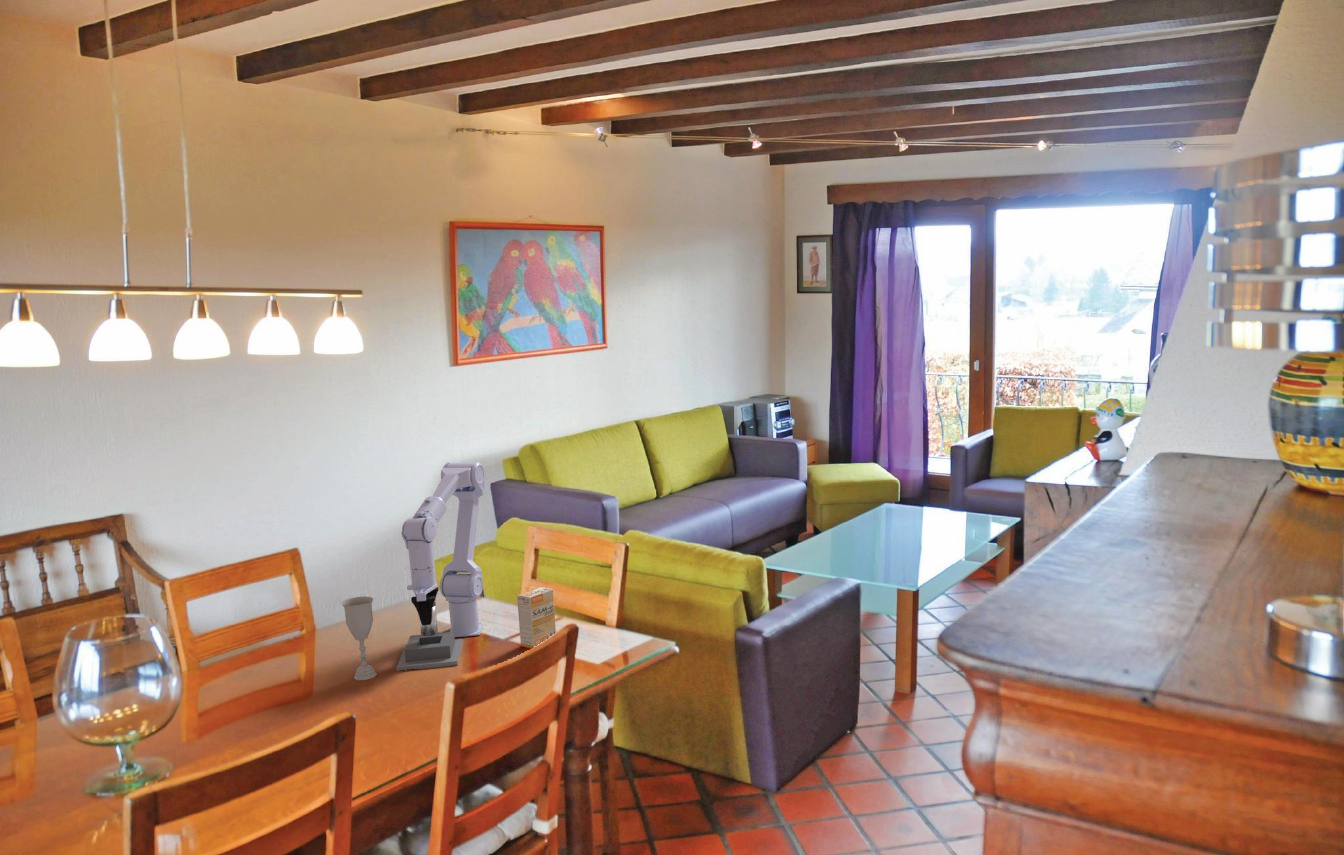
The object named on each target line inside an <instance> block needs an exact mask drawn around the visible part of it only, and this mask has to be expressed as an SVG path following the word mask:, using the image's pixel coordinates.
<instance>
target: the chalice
mask: <svg viewBox="0 0 1344 855" xmlns="http://www.w3.org/2000/svg"><path fill="white" fill-rule="evenodd" d="M373 601H374V598H373V597H372V596H356V597H355V596H354V597H351V598H347V599H346V598H345V599H344V600H342V601H341V602H340V603H341V605H342V606H343V609H344V618H345V624H346V627H347V629H348V631H349V632H350V634H351V635H352V637H353V638H354V640H356V641H359V647H358V650H359V651H360V655H359V658H360V659H361V664H360V665H359V666H357V668H356V671H355V674H354V677H353V679H354V680H356V681H367V680H370V679H374V678H375V677H376V676H377V675H378V674H377V673H376V670H375V668H374V667H373V666H372V665H371V664H369V663H367V657H368V654H366V649H367V646H366V645H365V640H367V639H368V638H369V635H370V632H371V631H372V630H371V629H372V626H373V622H374V617H373V616H374V614H373V607H372V604H373Z"/></svg>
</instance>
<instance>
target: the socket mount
mask: <svg viewBox="0 0 1344 855" xmlns="http://www.w3.org/2000/svg"><path fill="white" fill-rule="evenodd" d="M463 644H464V639H463V638H458V639H455V638H454V631H453V632H450V631H445V632H438V633H437V634H436V635H433V636H422V635H421V634H415V635H410V636H409V638H408V640H407V643H406V644H405V645H404V648H403V650H402V653H401V655H400V657H399V661H398V662H397V665H396V668H395V669H396V672H400V671H399V670H405V671H408V670H407V669H415V670H424V669H433V668H442V667H452V666H453V667H454V666H458V665H459V662H460V657H461V653H462V650H463Z"/></svg>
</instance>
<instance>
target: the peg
mask: <svg viewBox="0 0 1344 855" xmlns="http://www.w3.org/2000/svg"><path fill="white" fill-rule="evenodd" d="M437 618H438V617H437V605H436V599H435V600H434V603H433V609H432V622H431V625H422V624H421V621H420V620H419V628H420V635H422V636H433V635H436V634H437V633H439V631H438V619H437Z"/></svg>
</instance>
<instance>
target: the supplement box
mask: <svg viewBox="0 0 1344 855" xmlns="http://www.w3.org/2000/svg"><path fill="white" fill-rule="evenodd" d="M516 600H517V601H516V602H517V612H518V613H517V614H518V615H517V616H518V625H519V626H518V627H519V636H520V637H519V638H520V639H519V640H520V646H521V647H523V648H528V649H532V648H533V647H534V646H537V645H538V644H540V643H541V642H543V641H545V640H546V639H548V638H549V637H550V636H552V635H553V634H555V633H556V634H557V630H556V616H555V615H556V614H555V602H554V601H555V600H554V588H549V587H543V586H540V587H537V588H534V589H532V590H531V589H530V590H529V591H526V592H523V593H520V594H516Z"/></svg>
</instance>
